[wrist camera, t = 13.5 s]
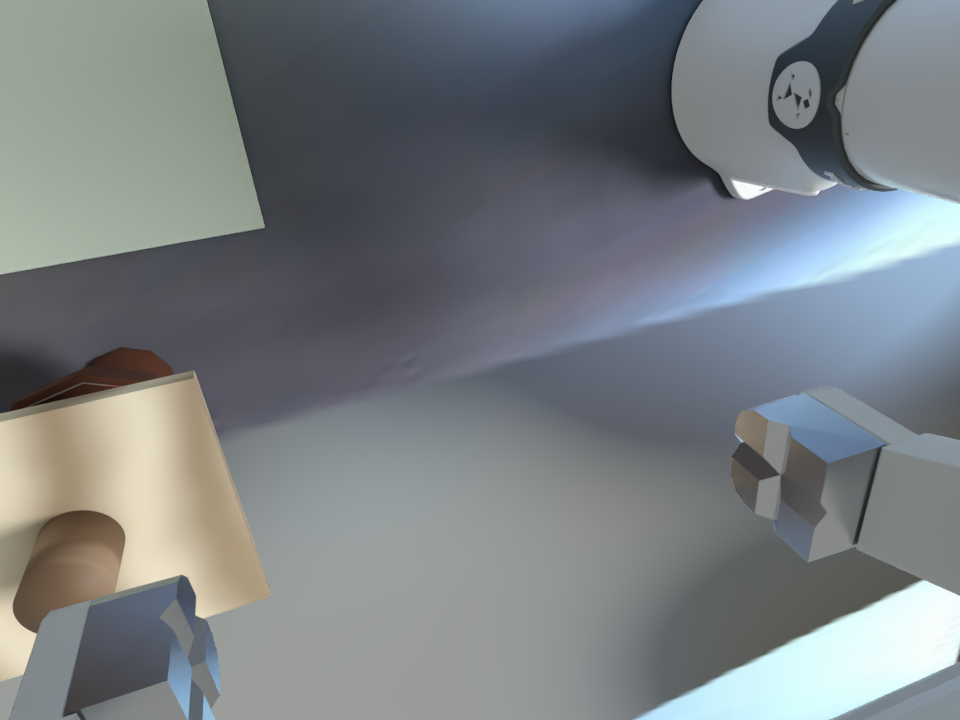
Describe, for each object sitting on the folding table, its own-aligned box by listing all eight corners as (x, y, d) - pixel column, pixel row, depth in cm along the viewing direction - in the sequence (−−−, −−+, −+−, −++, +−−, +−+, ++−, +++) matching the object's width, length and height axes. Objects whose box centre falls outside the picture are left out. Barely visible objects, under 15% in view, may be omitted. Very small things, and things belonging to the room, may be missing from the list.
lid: (194, 370, 30) (188, 424, 26) (269, 586, 36) (274, 656, 32) (-170, 451, 26) (-244, 529, 22) (-13, 673, 33) (-47, 764, 29)
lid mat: (178, -112, 34) (177, -113, 33) (264, 225, 42) (265, 227, 42) (-243, -90, 29) (-248, -91, 29) (-51, 281, 38) (-53, 283, 38)
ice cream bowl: (68, 467, 45) (3, 639, 32) (13, 319, 40) (-89, 454, 27) (229, 438, 48) (228, 585, 35) (198, 297, 43) (183, 410, 30)
